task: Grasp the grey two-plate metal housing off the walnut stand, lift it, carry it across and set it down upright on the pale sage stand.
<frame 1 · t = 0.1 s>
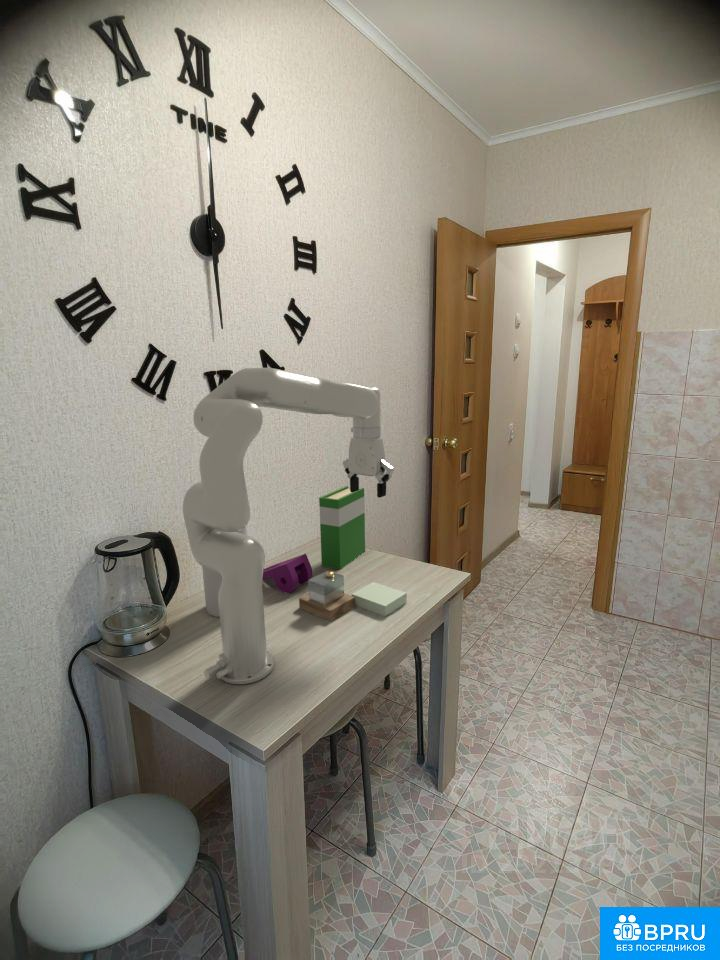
hand: (367, 493, 138), 31 cm above the table, fingers open, 9 cm apart
hardback book: (344, 559, 173), on the table
housing: (326, 597, 137), point 3 cm above the table, touching stand A
cylinder vase: (229, 608, 139), on the table
stand A: (327, 607, 138), on the table
stand B: (379, 603, 140), on the table
mounting bracket: (280, 583, 155), on the table
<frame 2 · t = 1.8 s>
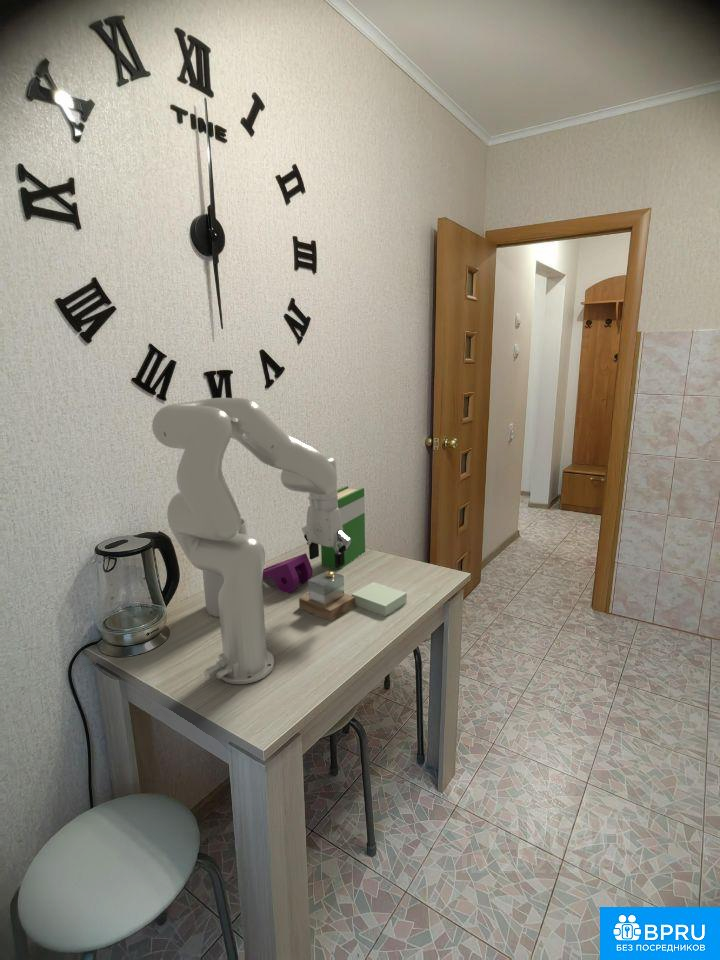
hand: (326, 561, 136), 13 cm above the table, fingers open, 9 cm apart
nothing on the table moved.
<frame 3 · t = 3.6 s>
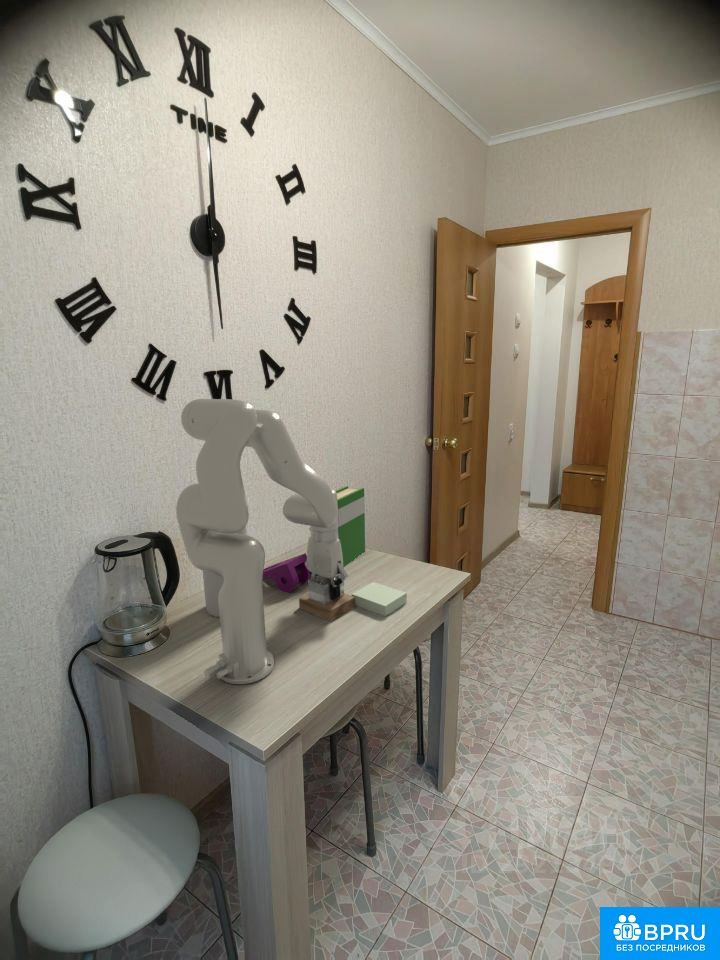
hand: (326, 594, 137), 4 cm above the table, fingers closed on housing, 6 cm apart
housing: (326, 597, 137), point 3 cm above the table, touching gripper, stand A
everything else where it was.
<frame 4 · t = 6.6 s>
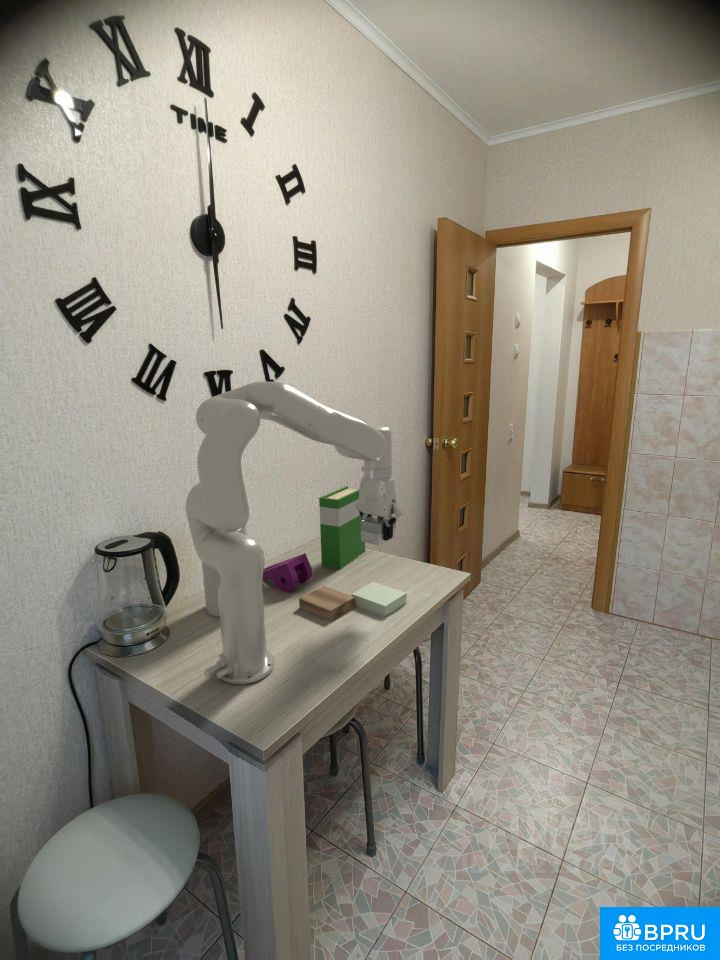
hand: (378, 536, 136), 20 cm above the table, fingers closed on housing, 6 cm apart
housing: (378, 539, 136), point 19 cm above the table, touching gripper
everything else where it was.
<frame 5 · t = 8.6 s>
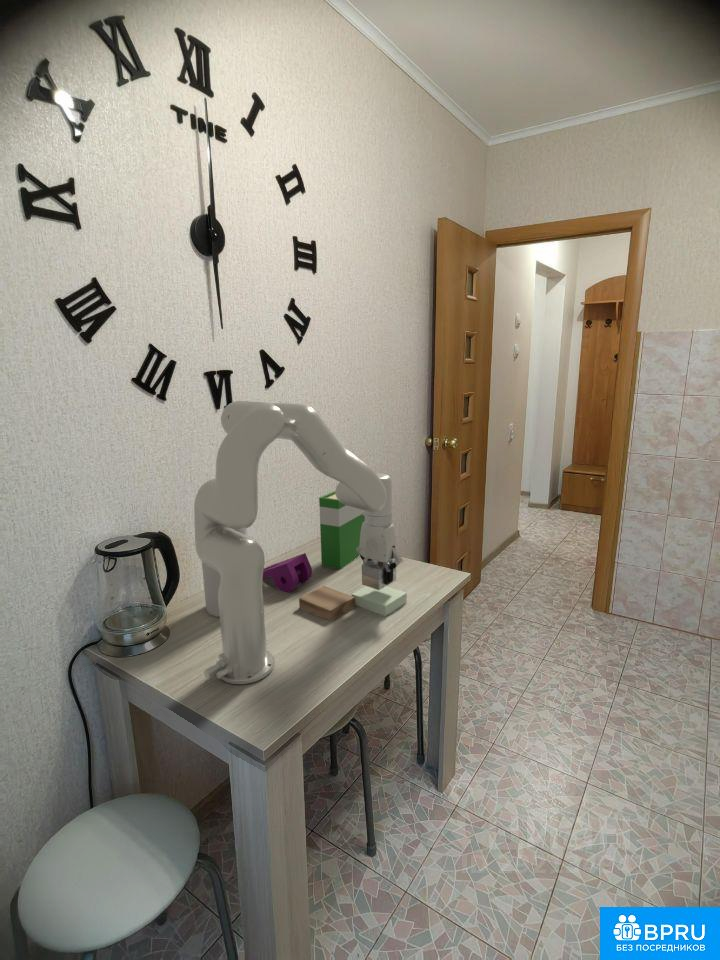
hand: (379, 579, 139), 7 cm above the table, fingers closed on housing, 6 cm apart
housing: (379, 582, 139), point 6 cm above the table, touching gripper
everything else where it was.
when the fingers open (5 cm above the table, at t = 10.0 s): housing drops 1 cm, resting on stand B.
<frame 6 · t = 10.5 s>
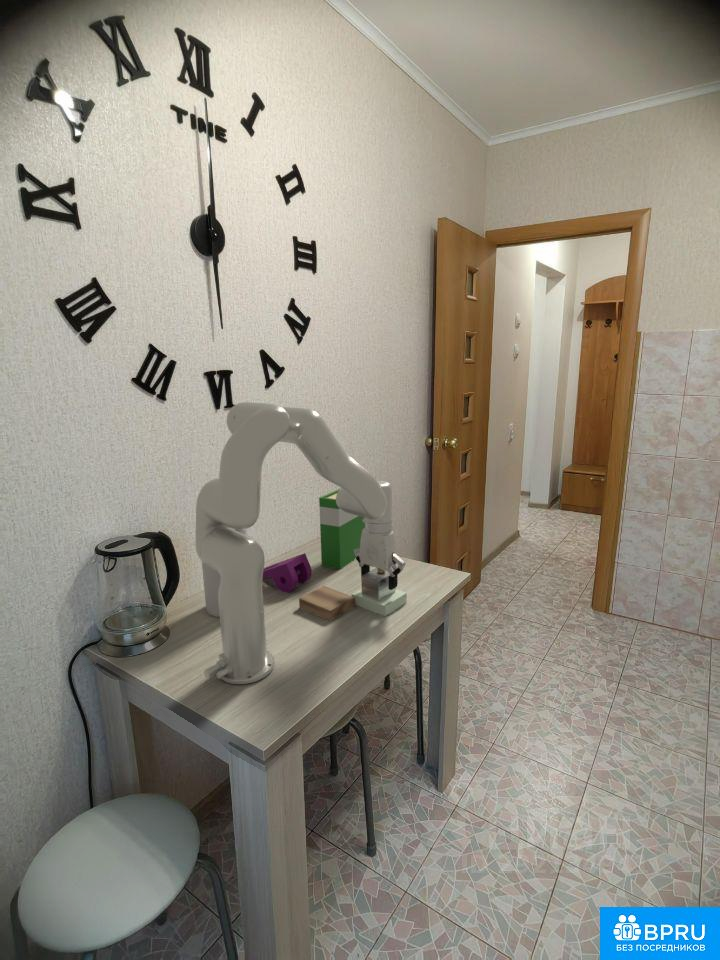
hand: (378, 583, 139), 6 cm above the table, fingers open, 9 cm apart
housing: (378, 593, 139), point 3 cm above the table, touching stand B
everything else where it was.
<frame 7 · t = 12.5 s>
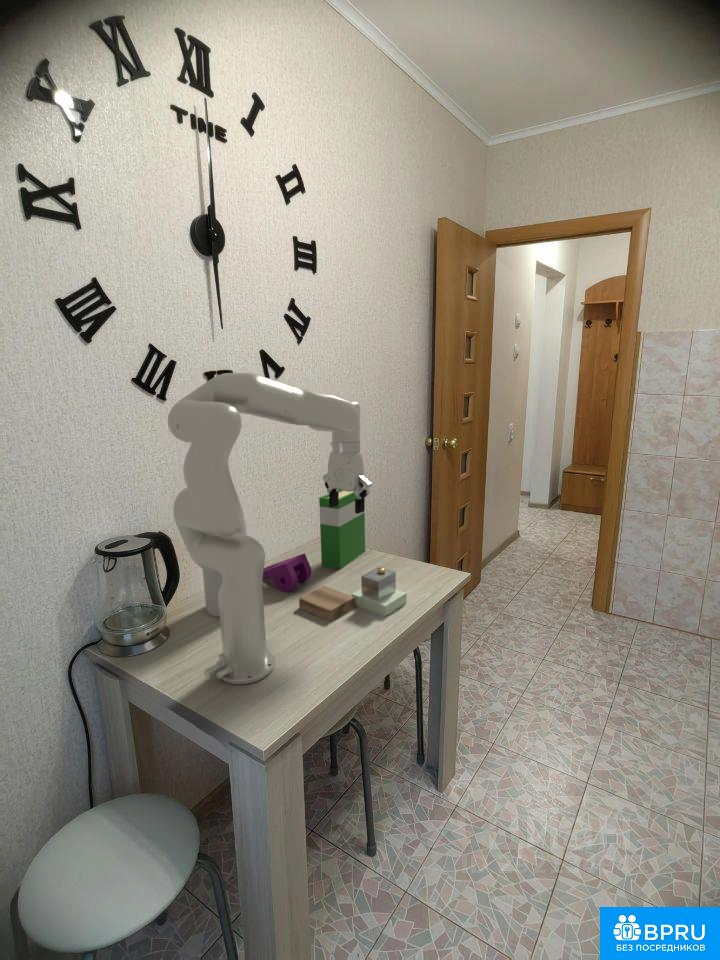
hand: (346, 509, 135), 28 cm above the table, fingers open, 9 cm apart
nothing on the table moved.
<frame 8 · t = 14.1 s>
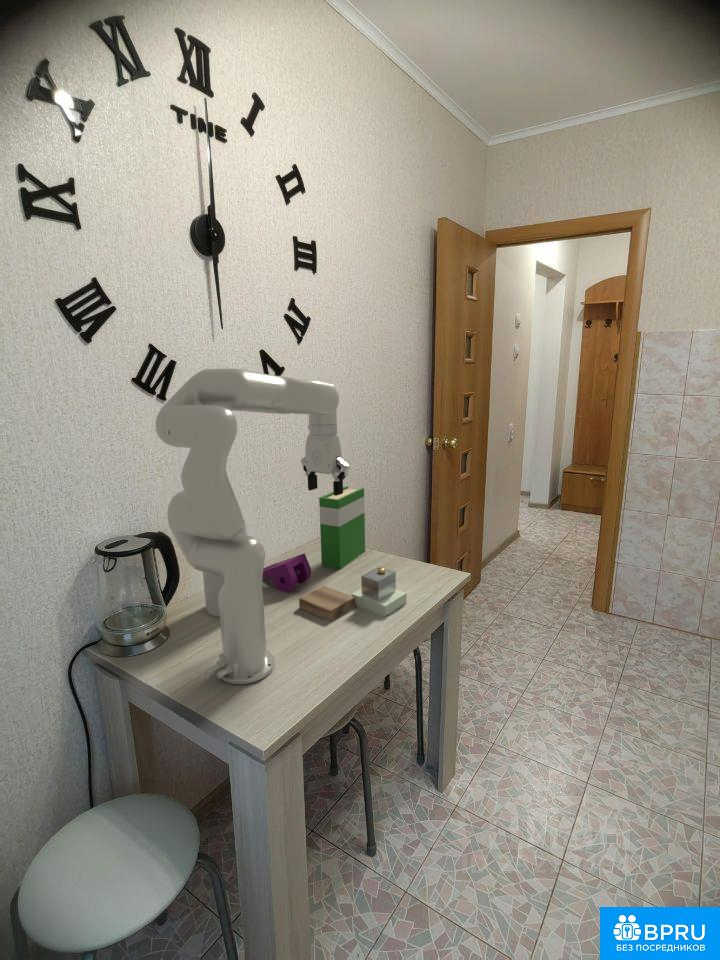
hand: (325, 491, 136), 32 cm above the table, fingers open, 9 cm apart
nothing on the table moved.
at the end: housing inside the target area on the stand B (0.1 cm from its centre), point 3.0 cm above the stand B's base; housing tilted 0°; the gripper is holding nothing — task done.
